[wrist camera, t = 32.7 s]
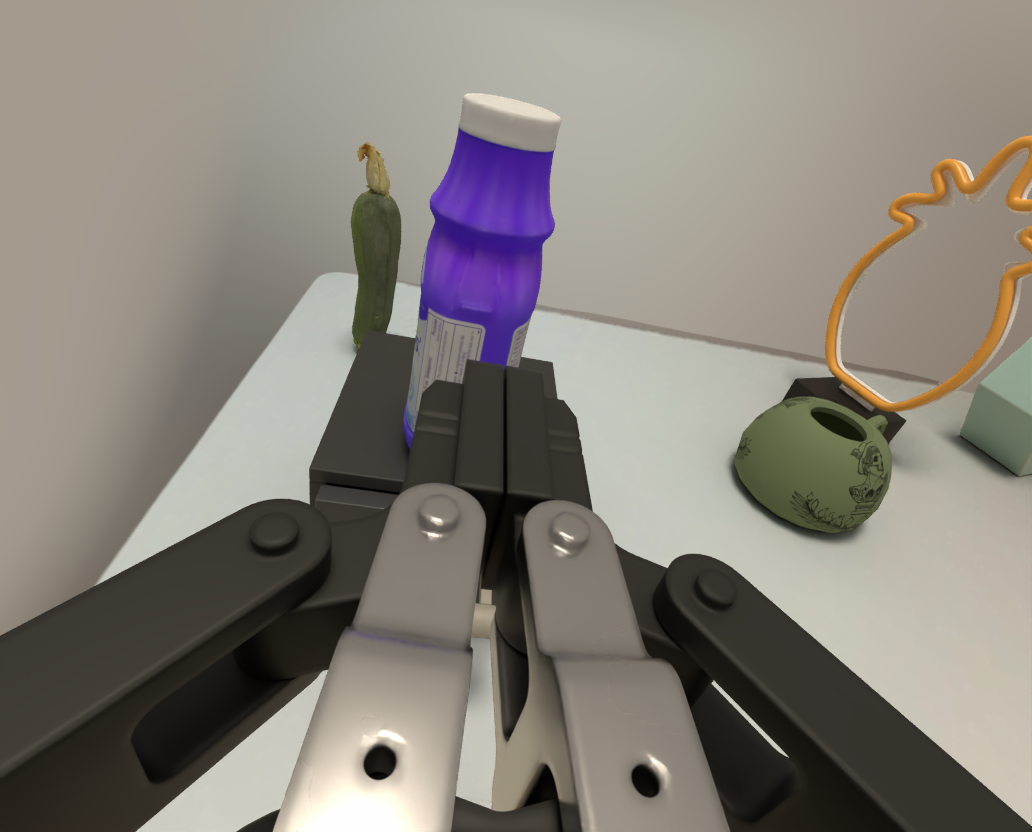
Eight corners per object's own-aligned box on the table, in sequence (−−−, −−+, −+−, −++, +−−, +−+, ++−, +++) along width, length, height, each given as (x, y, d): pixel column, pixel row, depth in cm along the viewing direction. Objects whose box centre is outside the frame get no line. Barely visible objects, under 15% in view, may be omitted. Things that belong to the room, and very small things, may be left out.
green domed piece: (804, 560, 46) (864, 485, 41) (699, 458, 55) (737, 386, 50) (904, 517, 54) (965, 450, 49) (798, 434, 62) (841, 369, 57)
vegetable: (395, 347, 59) (415, 147, 47) (383, 368, 56) (401, 157, 44) (354, 338, 59) (363, 134, 47) (339, 358, 55) (346, 143, 44)
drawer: (524, 696, 31) (566, 602, 26) (293, 675, 30) (287, 571, 24) (518, 477, 46) (544, 388, 40) (362, 454, 44) (367, 359, 39)
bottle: (413, 392, 35) (452, 77, 25) (502, 408, 36) (574, 107, 26) (391, 469, 29) (429, 99, 19) (497, 487, 30) (589, 137, 20)
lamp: (758, 385, 70) (916, 104, 51) (807, 382, 73) (971, 119, 55) (863, 477, 58) (1118, 157, 40) (916, 469, 62) (1172, 171, 43)
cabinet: (528, 619, 36) (572, 504, 30) (310, 596, 34) (308, 468, 28) (522, 466, 48) (552, 361, 42) (360, 443, 46) (366, 329, 40)
